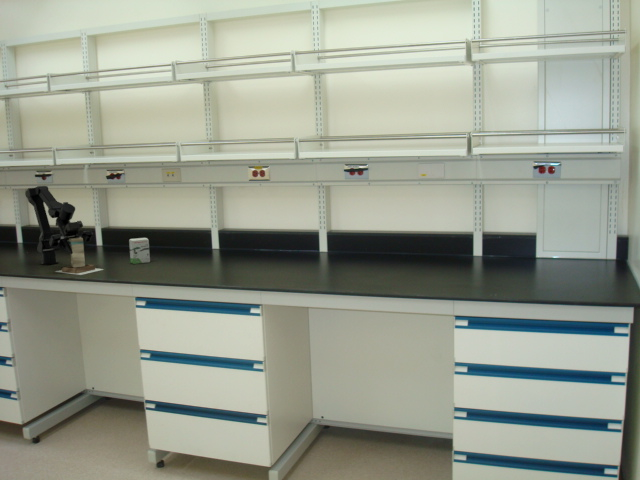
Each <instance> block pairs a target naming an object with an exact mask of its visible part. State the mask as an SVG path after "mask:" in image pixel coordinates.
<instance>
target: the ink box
mask: <svg viewBox="0 0 640 480" xmlns="http://www.w3.org/2000/svg"><path fill="white" fill-rule="evenodd" d="M128 244H129V259H130V260H129V261H130V264H133V265H135V264H136V265H137V264H144V263H145V264H146V263H150V262H151V257H150V255H151V254H150V240H149V238H148V237H138V238H130V239H129V240H128Z"/></svg>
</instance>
